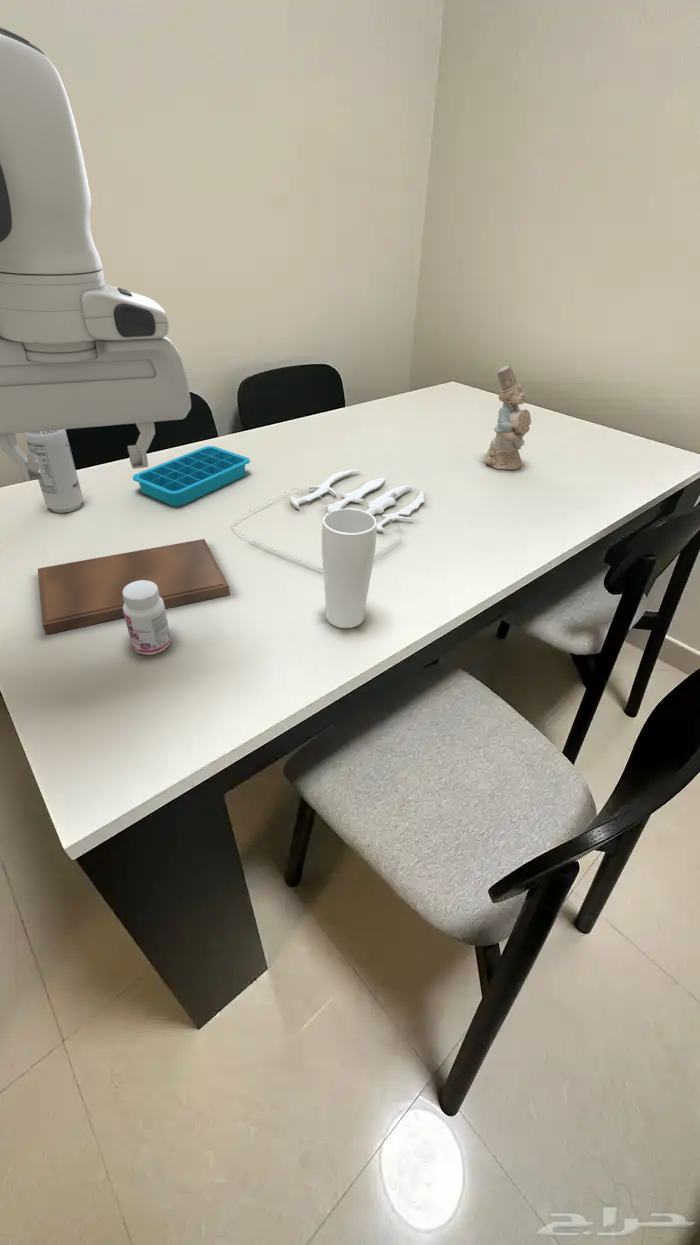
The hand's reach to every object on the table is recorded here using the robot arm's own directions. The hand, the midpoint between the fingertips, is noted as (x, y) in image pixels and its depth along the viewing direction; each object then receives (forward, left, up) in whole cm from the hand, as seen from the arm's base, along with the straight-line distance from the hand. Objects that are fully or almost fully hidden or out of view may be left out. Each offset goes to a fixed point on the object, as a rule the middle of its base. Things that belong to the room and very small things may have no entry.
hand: (88, 471), depth 55 cm
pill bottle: (+3, +3, -25) cm, 25 cm away
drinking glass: (+28, -1, -25) cm, 37 cm away
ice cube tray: (+19, +48, -25) cm, 57 cm away
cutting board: (+3, +17, -25) cm, 30 cm away
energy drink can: (-4, +46, -25) cm, 52 cm away
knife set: (+40, +26, -25) cm, 53 cm away
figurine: (+82, +36, -25) cm, 93 cm away
